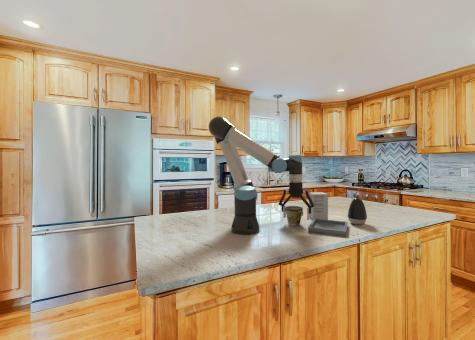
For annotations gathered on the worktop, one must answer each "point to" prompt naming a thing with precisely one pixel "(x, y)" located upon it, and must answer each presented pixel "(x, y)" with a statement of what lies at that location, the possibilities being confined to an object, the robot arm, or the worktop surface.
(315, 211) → the supplement box
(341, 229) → the tray
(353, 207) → the dark grey egg shape
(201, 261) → the worktop surface
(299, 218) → the ceramic cup
